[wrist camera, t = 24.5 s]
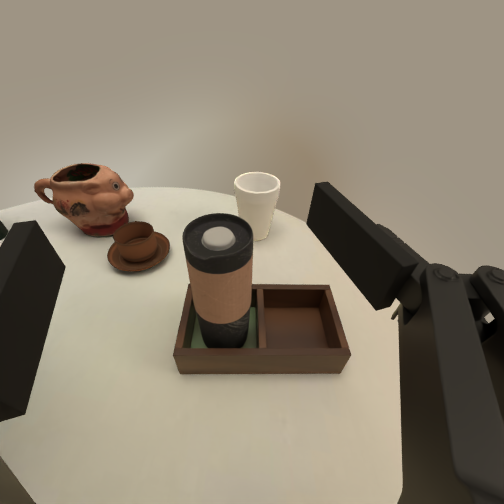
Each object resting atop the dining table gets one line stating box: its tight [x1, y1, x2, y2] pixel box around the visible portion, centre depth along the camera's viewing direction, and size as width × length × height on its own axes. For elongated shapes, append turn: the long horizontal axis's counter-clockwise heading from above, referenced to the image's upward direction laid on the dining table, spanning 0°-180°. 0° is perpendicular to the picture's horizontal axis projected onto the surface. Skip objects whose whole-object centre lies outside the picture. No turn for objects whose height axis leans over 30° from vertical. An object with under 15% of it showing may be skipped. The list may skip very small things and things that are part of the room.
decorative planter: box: [34, 163, 134, 236], centre depth 56 cm, size 20×12×14 cm, turn 97°
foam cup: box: [234, 172, 280, 241], centre depth 57 cm, size 10×9×13 cm
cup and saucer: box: [107, 221, 170, 271], centre depth 52 cm, size 12×12×6 cm
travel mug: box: [183, 213, 253, 348], centre depth 34 cm, size 8×8×20 cm
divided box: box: [173, 284, 351, 374], centre depth 39 cm, size 12×23×6 cm, turn 91°
